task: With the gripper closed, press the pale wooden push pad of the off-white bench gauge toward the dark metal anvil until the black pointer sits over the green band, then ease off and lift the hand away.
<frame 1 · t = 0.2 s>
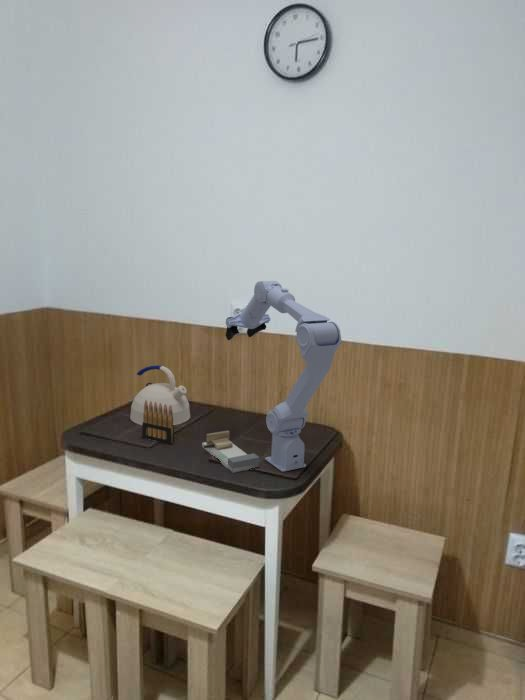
hand: (238, 336, 167), 31 cm above the table, tool tilted 45°, fingers open, 7 cm apart
kettle: (160, 417, 183), on the table
gauge base: (229, 456, 153), on the table
gauge carriage: (217, 440, 156), point 3 cm above the table, slide at 0.0 cm
ammunition clip: (158, 441, 163), on the table
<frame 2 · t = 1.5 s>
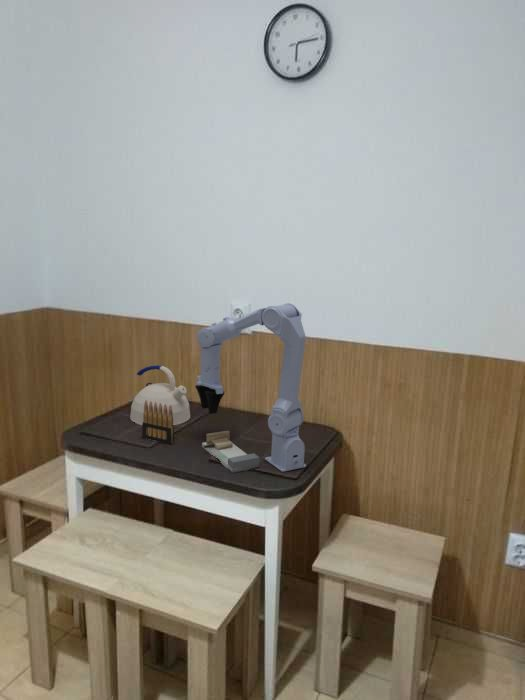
hand: (209, 410, 163), 9 cm above the table, tool pointing down, fingers open, 5 cm apart
nothing on the table moved.
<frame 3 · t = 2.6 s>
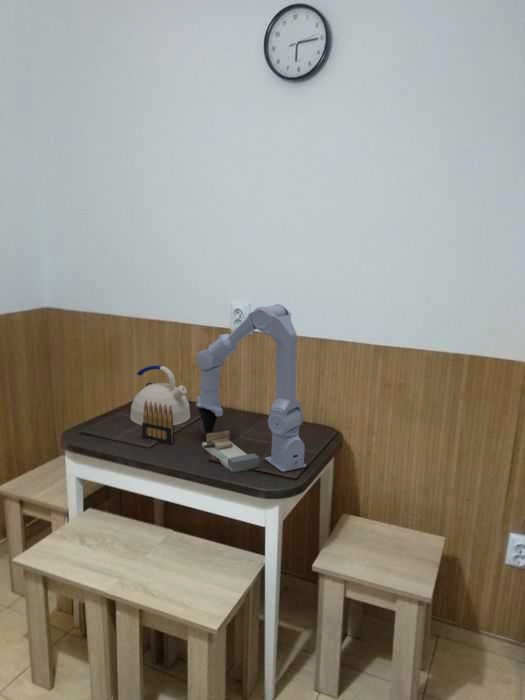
hand: (208, 431, 164), 3 cm above the table, tool pointing down, fingers closed
nothing on the table moved.
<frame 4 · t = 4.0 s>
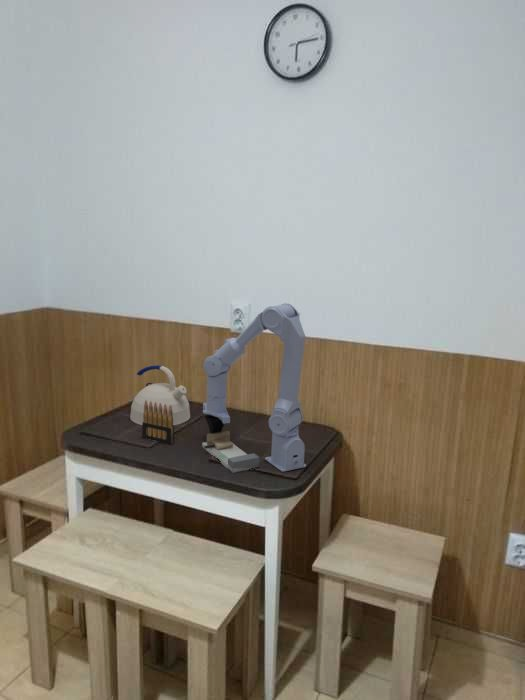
hand: (215, 438, 160), 2 cm above the table, tool pointing down, fingers closed
gauge carriage: (218, 440, 156), point 3 cm above the table, slide at 0.2 cm, touching gripper
everything else where it was.
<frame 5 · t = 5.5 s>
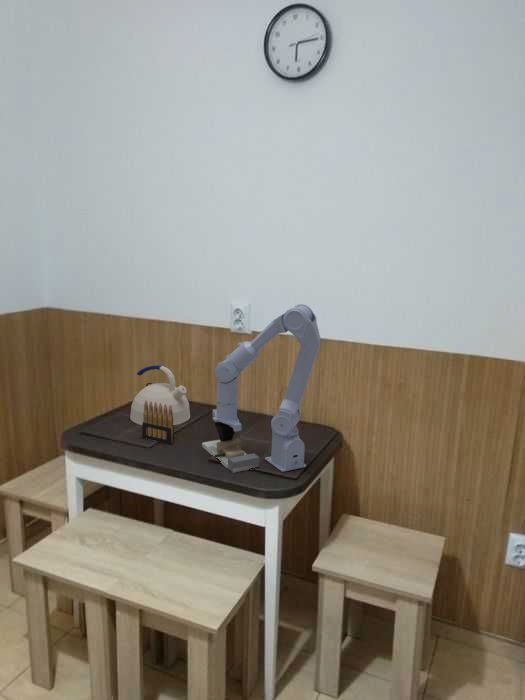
hand: (225, 447, 154), 2 cm above the table, tool pointing down, fingers closed
gauge carriage: (228, 449, 150), point 3 cm above the table, slide at 7.1 cm, touching gripper
everything else where it was.
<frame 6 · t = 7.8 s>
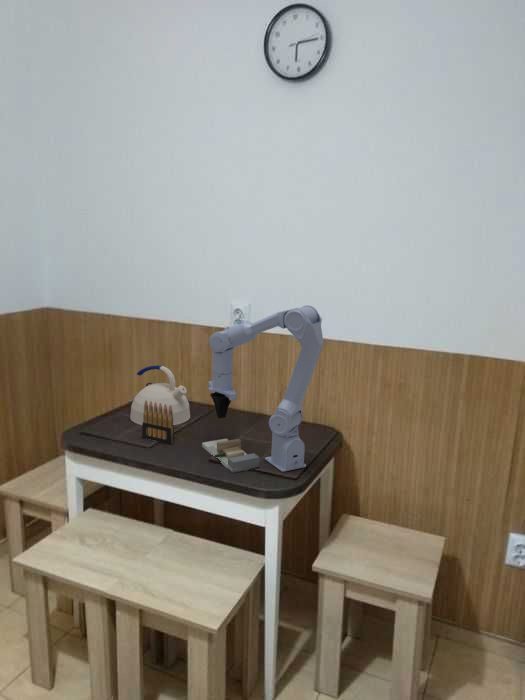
hand: (221, 417, 157), 9 cm above the table, tool pointing down, fingers closed
gauge carriage: (229, 449, 150), point 3 cm above the table, slide at 7.2 cm
everything else where it was.
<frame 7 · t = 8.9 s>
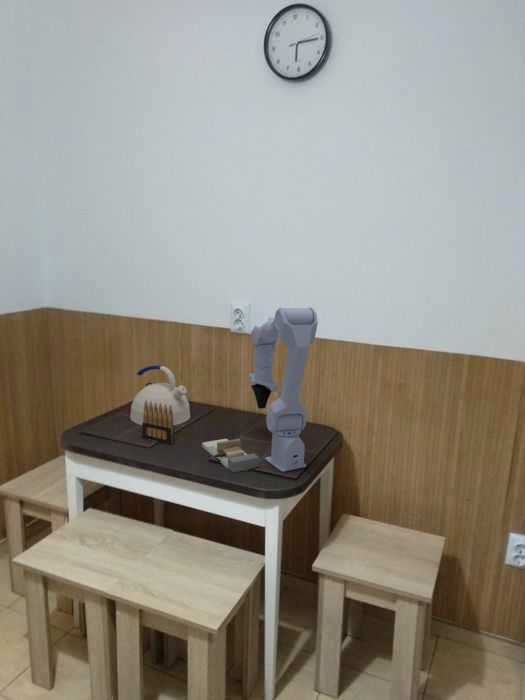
hand: (261, 407, 167), 9 cm above the table, tool pointing down, fingers closed
nothing on the table moved.
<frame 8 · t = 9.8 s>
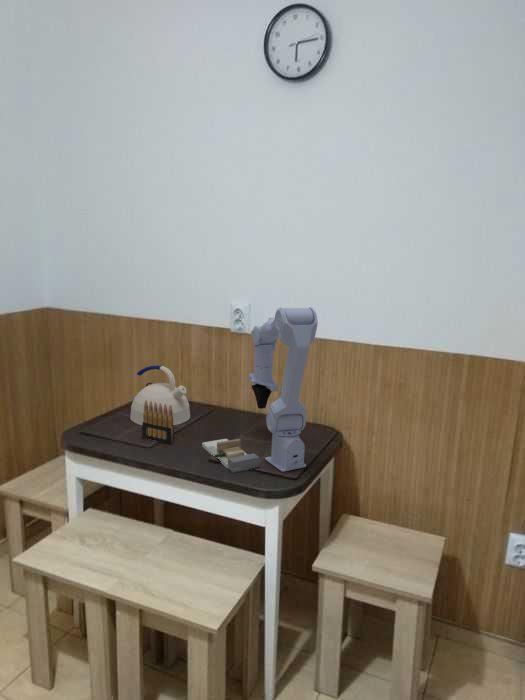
hand: (261, 407, 167), 9 cm above the table, tool pointing down, fingers closed
nothing on the table moved.
at the end: gauge carriage slide at 7.2 cm; ammunition clip moved 0.3 cm from its start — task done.
